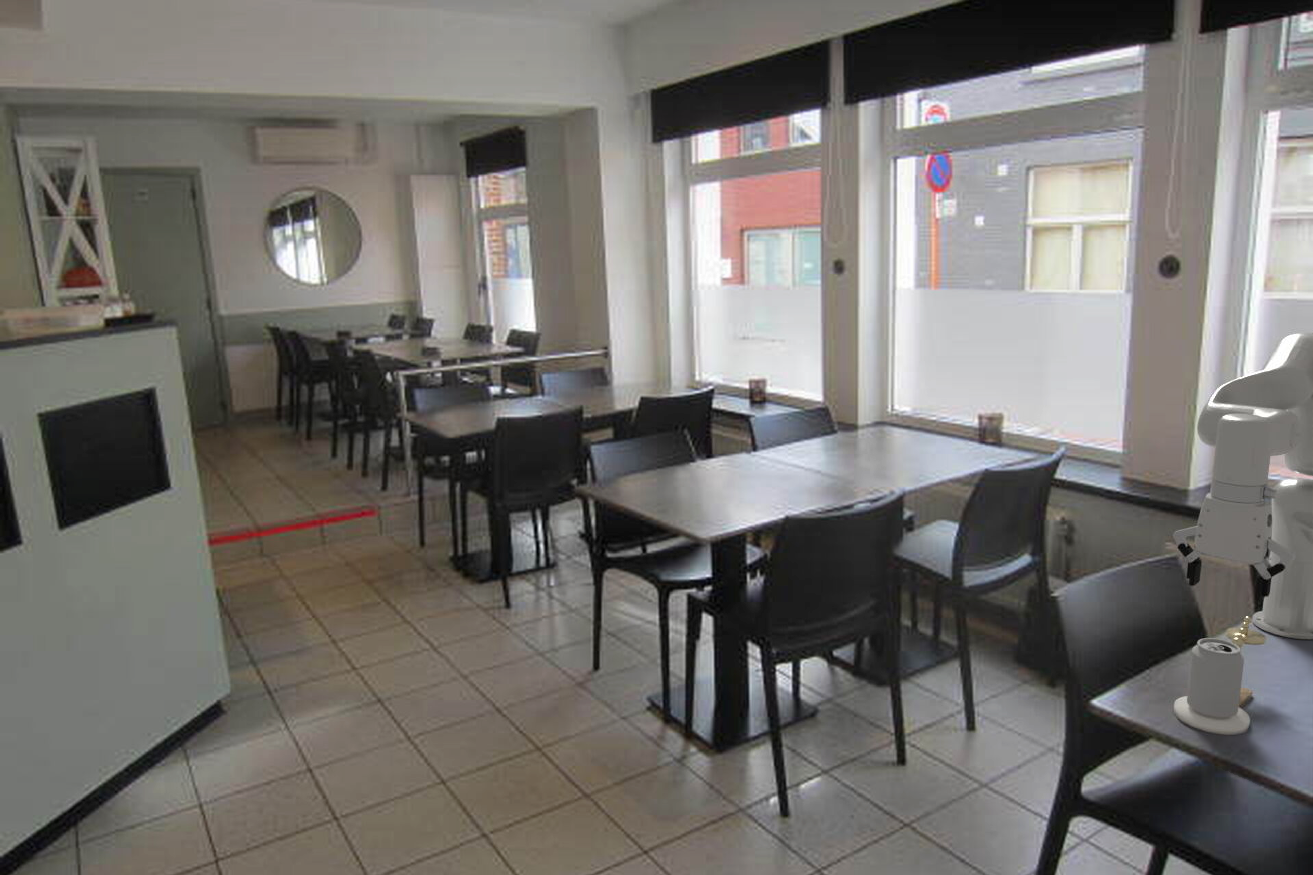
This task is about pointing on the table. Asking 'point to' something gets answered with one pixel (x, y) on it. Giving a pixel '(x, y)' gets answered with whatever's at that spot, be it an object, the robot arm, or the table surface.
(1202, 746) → the table surface
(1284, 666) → the table surface
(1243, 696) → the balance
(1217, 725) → the white rounded disc
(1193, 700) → the can
